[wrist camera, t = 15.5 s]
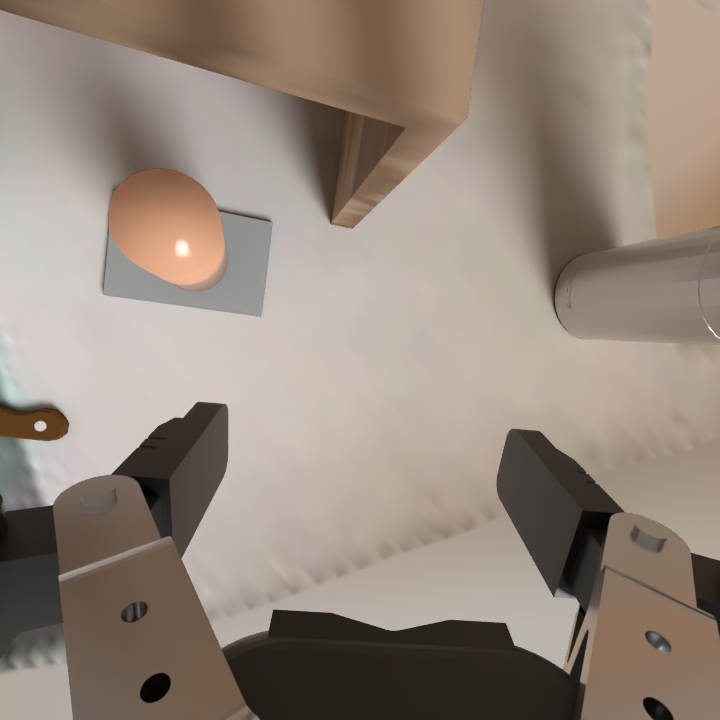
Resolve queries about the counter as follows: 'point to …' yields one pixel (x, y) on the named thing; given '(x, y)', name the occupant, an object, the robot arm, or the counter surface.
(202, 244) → the peach cylinder
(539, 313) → the counter surface
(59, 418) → the kitchen cleaver
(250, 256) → the slate mat
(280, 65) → the walnut shelf
